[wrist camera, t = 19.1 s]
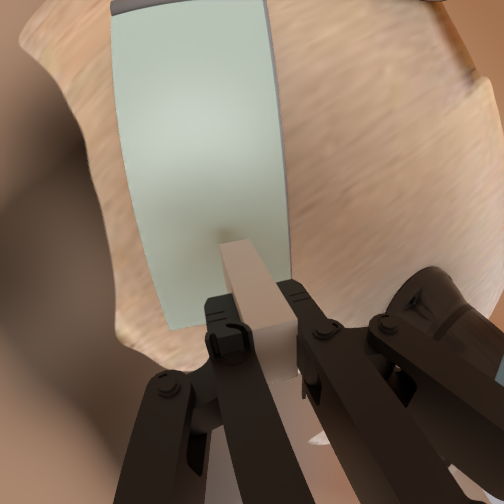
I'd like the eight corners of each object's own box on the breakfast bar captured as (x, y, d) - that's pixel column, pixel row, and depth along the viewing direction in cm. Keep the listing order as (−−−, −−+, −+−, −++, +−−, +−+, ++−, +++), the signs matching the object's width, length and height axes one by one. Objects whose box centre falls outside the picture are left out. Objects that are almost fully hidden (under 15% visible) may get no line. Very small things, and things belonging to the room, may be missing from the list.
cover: (286, 296, 21) (293, 305, 20) (169, 321, 20) (169, 333, 18) (255, -11, 12) (260, -20, 10) (115, 6, 10) (110, -3, 9)
